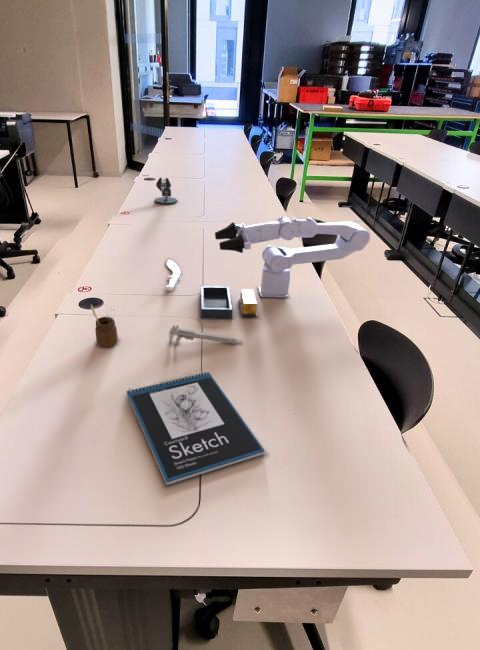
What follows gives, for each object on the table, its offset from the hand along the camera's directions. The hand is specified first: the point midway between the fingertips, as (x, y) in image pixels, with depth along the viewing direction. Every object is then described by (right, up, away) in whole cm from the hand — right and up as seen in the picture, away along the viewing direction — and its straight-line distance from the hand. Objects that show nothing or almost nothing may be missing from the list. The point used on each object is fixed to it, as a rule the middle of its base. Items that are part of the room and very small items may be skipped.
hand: (217, 241), depth 141 cm
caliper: (-4, -34, -15) cm, 37 cm away
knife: (-17, -6, +24) cm, 30 cm away
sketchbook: (-7, -52, -42) cm, 68 cm away
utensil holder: (-32, -33, -16) cm, 49 cm away
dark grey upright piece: (-27, +49, +105) cm, 119 cm away
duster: (+10, -22, +3) cm, 24 cm away
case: (-1, -21, +4) cm, 21 cm away
